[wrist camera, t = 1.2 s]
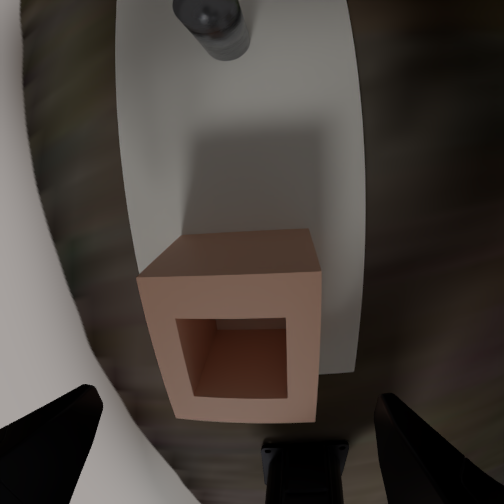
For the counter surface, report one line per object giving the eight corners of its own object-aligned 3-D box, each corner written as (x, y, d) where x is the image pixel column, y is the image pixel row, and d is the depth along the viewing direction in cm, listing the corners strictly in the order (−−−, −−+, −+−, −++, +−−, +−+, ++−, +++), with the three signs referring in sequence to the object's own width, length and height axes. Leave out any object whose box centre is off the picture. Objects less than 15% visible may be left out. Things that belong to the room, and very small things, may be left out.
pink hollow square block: (309, 351, 16) (315, 421, 11) (201, 352, 16) (176, 418, 12) (308, 228, 14) (321, 271, 9) (181, 235, 14) (135, 277, 10)
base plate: (351, 361, 17) (354, 371, 16) (169, 362, 18) (164, 372, 17) (333, -35, 10) (336, -44, 9) (125, -7, 11) (117, -13, 10)
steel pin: (252, 58, 12) (238, 19, 7) (206, 64, 12) (172, 30, 8) (248, 20, 11) (233, -29, 7) (203, 26, 11) (172, -17, 7)
